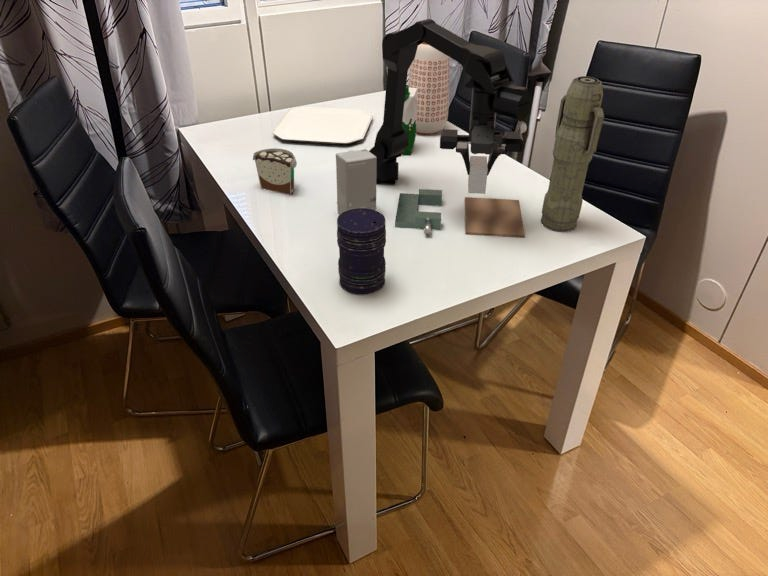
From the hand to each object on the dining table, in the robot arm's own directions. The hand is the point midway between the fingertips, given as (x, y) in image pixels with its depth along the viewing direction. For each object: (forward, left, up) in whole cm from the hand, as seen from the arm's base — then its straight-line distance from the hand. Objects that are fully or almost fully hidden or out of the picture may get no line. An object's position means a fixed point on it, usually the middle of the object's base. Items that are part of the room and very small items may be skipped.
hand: (477, 174), depth 146 cm
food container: (-51, +10, -12) cm, 53 cm away
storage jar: (-24, -31, -12) cm, 41 cm away
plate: (-47, +53, -12) cm, 72 cm away
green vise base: (-14, -2, -11) cm, 18 cm away
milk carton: (-21, +39, -12) cm, 46 cm away
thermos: (+21, -1, -12) cm, 24 cm away
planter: (-14, +56, -12) cm, 59 cm away
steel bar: (0, 0, -3) cm, 3 cm away
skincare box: (-29, -2, -12) cm, 31 cm away
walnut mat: (+5, 0, -12) cm, 13 cm away
